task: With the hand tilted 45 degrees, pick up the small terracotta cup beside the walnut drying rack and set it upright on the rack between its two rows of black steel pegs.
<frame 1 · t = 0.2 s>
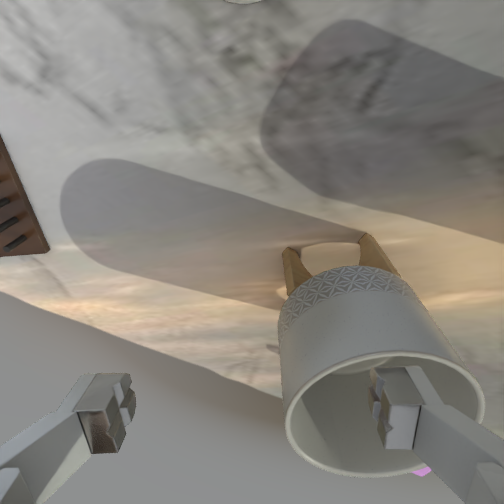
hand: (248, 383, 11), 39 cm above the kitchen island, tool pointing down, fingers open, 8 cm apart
planter: (330, 277, 55), on the kitchen island
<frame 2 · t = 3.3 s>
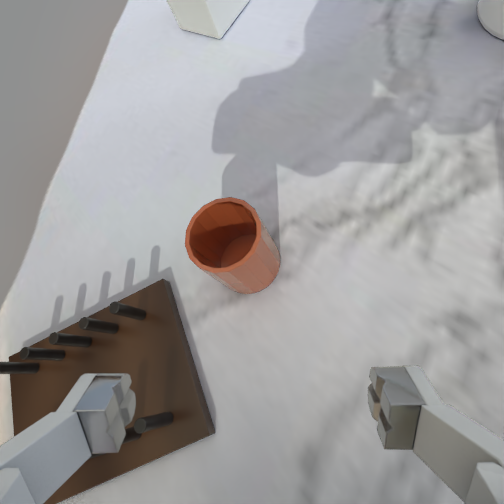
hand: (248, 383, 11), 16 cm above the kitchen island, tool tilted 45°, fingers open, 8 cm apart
rack: (105, 390, 30), on the kitchen island
cup: (249, 262, 31), on the kitchen island
milk carton: (215, 17, 44), on the kitchen island
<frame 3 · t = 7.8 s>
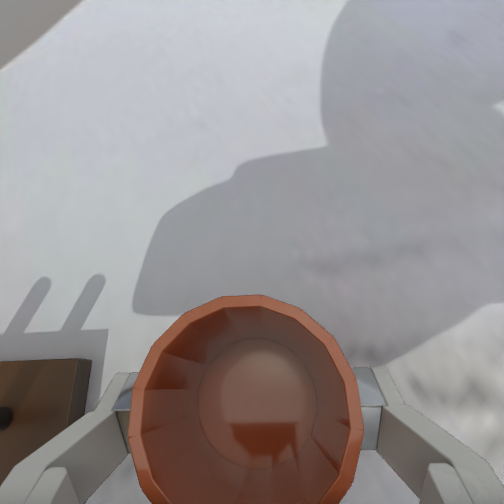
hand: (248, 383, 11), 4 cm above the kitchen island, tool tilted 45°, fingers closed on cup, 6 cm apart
cup: (257, 399, 15), on the kitchen island, touching gripper
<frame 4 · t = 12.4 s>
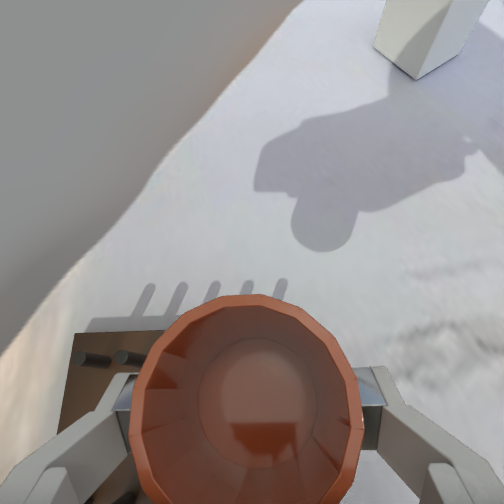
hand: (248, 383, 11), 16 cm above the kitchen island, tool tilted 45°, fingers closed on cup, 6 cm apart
rack: (179, 423, 26), on the kitchen island
cup: (257, 398, 15), point 12 cm above the kitchen island, touching gripper
milk carton: (414, 52, 39), on the kitchen island
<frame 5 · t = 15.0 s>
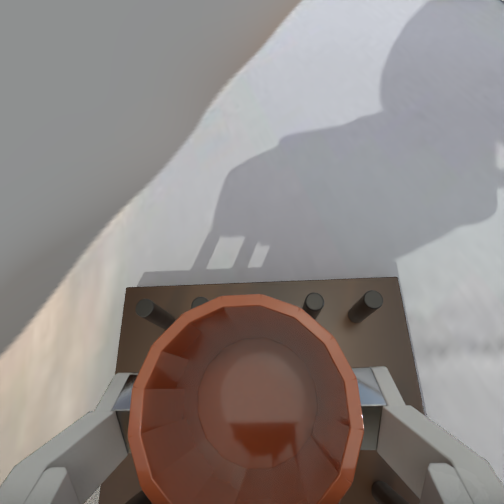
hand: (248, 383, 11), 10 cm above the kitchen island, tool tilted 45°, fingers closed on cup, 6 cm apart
rack: (263, 397, 20), on the kitchen island
cup: (257, 398, 15), point 6 cm above the kitchen island, touching gripper
when the fingers open (5 cm above the kitchen island, at t = 16.9 s): cup stays where it is, resting on rack.
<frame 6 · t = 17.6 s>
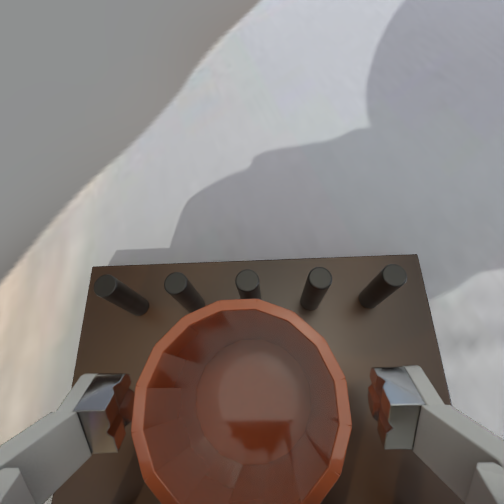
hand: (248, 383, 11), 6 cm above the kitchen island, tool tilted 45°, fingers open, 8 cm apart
rack: (255, 398, 17), on the kitchen island
cup: (253, 397, 16), point 1 cm above the kitchen island, touching rack
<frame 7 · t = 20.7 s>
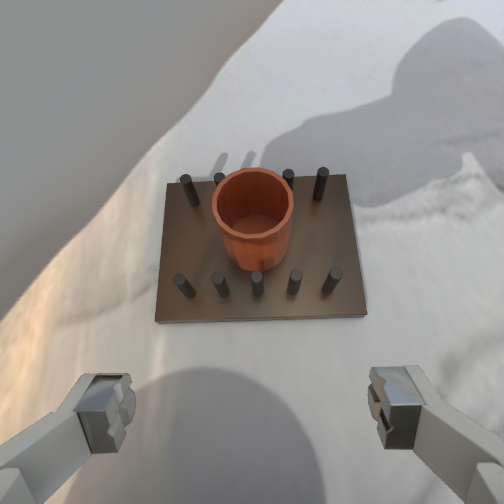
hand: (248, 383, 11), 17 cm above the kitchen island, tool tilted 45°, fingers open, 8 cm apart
rack: (257, 247, 32), on the kitchen island
cup: (256, 241, 31), point 1 cm above the kitchen island, touching rack
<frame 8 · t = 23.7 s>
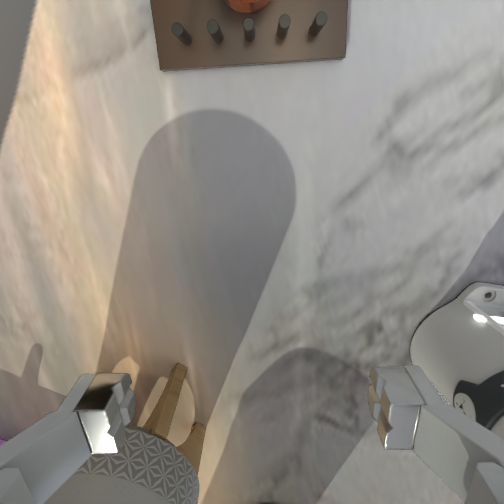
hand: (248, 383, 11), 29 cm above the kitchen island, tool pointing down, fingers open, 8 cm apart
planter: (152, 402, 51), on the kitchen island
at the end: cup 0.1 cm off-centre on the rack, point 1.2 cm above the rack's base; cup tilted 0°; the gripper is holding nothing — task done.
